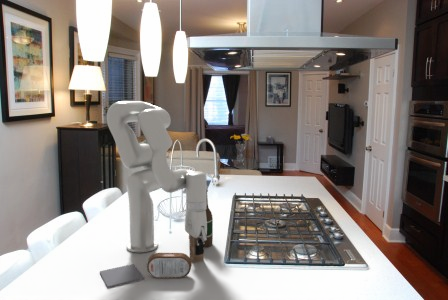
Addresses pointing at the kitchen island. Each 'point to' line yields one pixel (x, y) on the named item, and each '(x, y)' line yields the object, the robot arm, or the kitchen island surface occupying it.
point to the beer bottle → (208, 225)
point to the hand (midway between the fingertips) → (196, 251)
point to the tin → (169, 265)
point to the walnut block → (194, 250)
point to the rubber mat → (121, 275)
